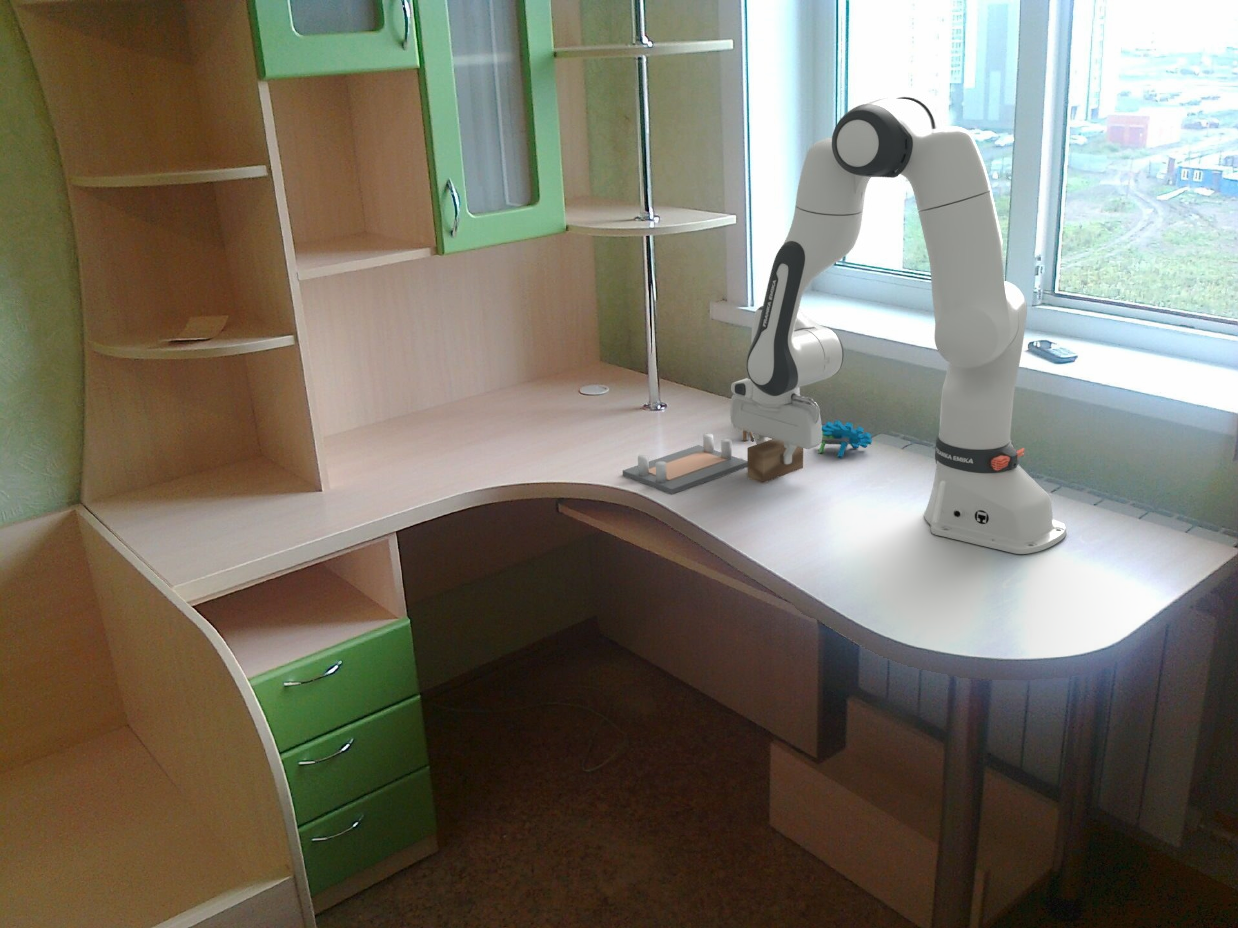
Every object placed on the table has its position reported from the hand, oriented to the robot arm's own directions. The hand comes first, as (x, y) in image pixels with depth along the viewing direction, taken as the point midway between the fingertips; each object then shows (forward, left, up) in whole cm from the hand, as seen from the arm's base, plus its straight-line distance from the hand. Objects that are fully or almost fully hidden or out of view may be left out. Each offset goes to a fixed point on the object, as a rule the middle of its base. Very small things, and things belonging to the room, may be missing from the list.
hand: (775, 459), depth 206 cm
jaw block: (0, 0, -3) cm, 3 cm away
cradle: (+13, +11, -3) cm, 17 cm away
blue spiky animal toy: (-2, -17, -3) cm, 18 cm away
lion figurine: (+19, -15, -3) cm, 24 cm away
